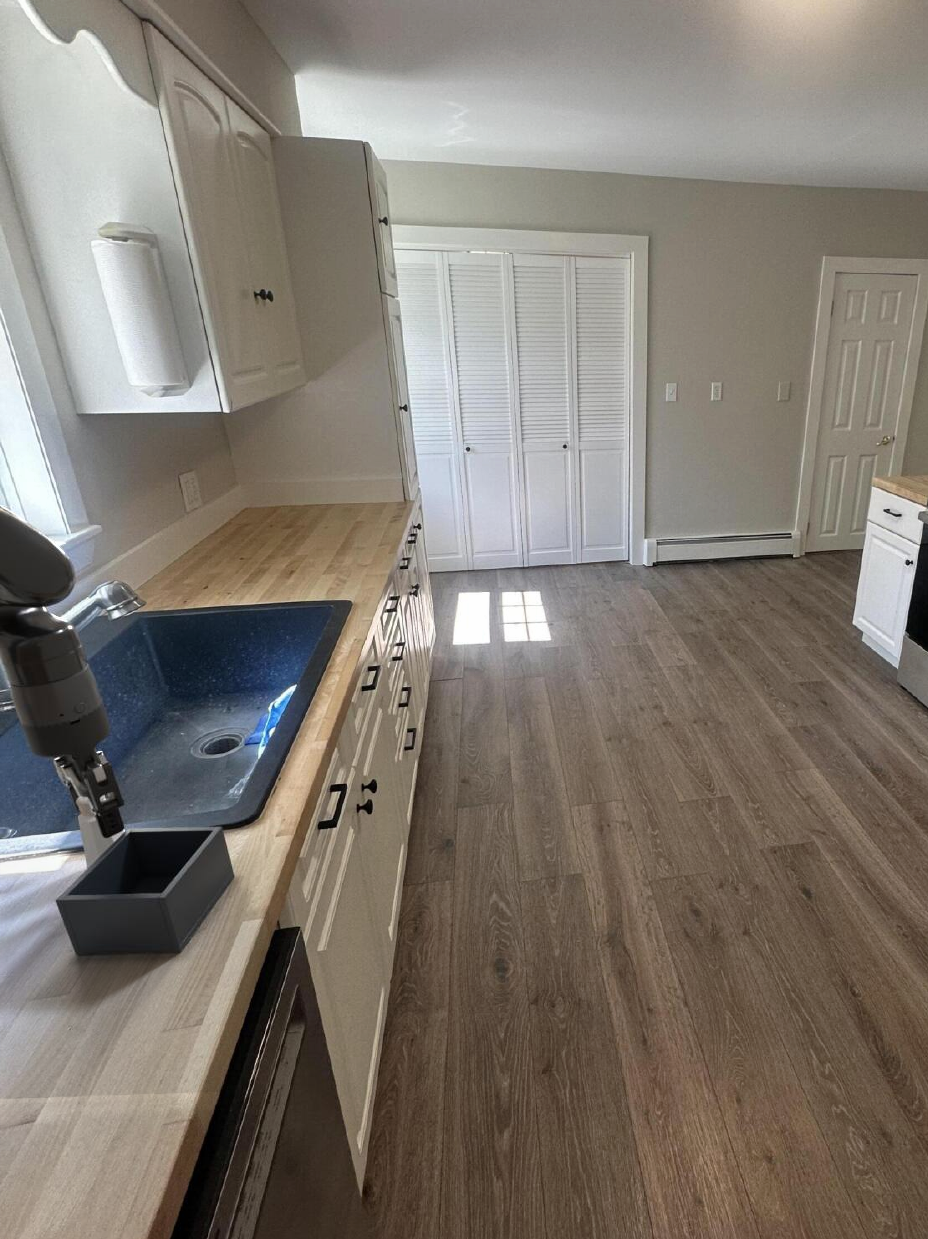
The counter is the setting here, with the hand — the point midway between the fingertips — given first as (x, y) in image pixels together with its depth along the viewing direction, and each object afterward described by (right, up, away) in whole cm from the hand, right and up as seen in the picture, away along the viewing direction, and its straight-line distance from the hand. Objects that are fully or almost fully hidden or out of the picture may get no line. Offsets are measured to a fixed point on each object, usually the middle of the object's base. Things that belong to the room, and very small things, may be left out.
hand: (100, 820), depth 83 cm
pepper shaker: (0, -7, +3) cm, 8 cm away
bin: (+11, -10, -5) cm, 15 cm away
